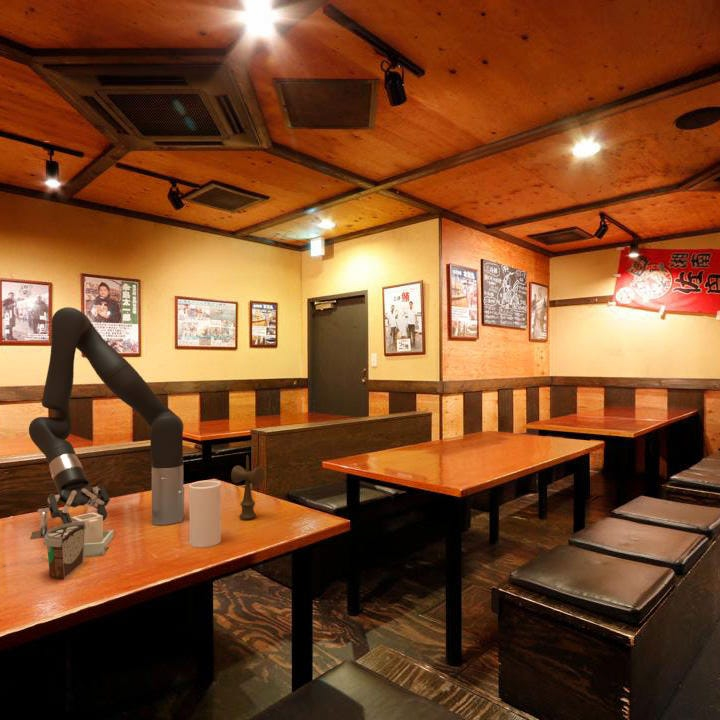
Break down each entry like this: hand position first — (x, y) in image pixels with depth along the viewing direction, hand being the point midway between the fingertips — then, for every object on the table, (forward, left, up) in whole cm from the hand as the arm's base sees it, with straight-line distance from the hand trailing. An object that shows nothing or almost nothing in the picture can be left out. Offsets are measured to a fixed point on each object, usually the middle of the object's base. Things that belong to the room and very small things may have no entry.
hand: (87, 523), depth 133 cm
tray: (0, 0, -7) cm, 7 cm away
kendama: (-41, -18, -7) cm, 46 cm away
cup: (-30, +1, -7) cm, 31 cm away
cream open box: (0, 0, -6) cm, 6 cm away
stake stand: (+14, -12, -7) cm, 20 cm away
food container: (+2, +13, -7) cm, 15 cm away
